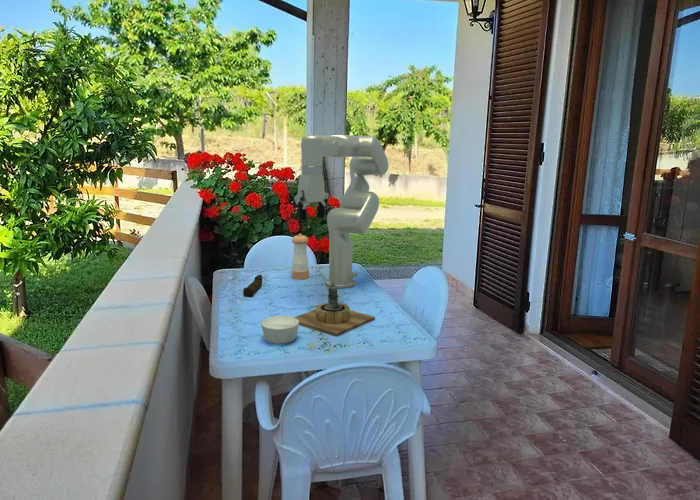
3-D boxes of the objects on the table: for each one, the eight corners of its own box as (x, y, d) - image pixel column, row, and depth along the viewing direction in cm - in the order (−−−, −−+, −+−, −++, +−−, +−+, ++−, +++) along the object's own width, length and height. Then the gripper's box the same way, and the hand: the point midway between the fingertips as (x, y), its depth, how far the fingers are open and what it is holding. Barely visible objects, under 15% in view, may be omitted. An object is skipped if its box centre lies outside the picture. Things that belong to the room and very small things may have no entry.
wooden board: (329, 307, 185) (329, 304, 184) (374, 319, 173) (375, 316, 172) (289, 321, 169) (289, 318, 169) (336, 336, 157) (336, 333, 157)
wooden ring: (330, 310, 178) (330, 300, 177) (356, 317, 172) (356, 307, 171) (309, 318, 170) (309, 308, 169) (334, 326, 163) (335, 315, 162)
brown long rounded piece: (253, 298, 195) (253, 286, 194) (242, 297, 195) (242, 285, 194) (267, 284, 213) (267, 273, 212) (258, 284, 214) (258, 273, 213)
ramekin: (266, 348, 148) (266, 330, 147) (257, 334, 158) (257, 318, 157) (304, 342, 152) (304, 325, 151) (292, 329, 162) (292, 313, 161)
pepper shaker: (299, 274, 229) (299, 231, 225) (312, 277, 225) (312, 233, 221) (288, 277, 223) (287, 234, 219) (301, 280, 219) (300, 236, 215)
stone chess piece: (323, 314, 173) (323, 280, 171) (341, 314, 174) (341, 279, 172) (324, 320, 168) (324, 285, 165) (342, 320, 168) (342, 284, 166)
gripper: (320, 169, 194) (319, 215, 198) (287, 171, 181) (287, 219, 184) (335, 170, 190) (335, 217, 193) (303, 172, 176) (303, 222, 180)
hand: (311, 218), depth 189 cm, fingers open, 9 cm apart
